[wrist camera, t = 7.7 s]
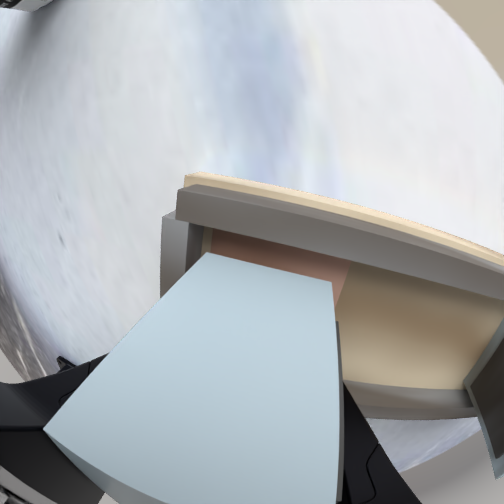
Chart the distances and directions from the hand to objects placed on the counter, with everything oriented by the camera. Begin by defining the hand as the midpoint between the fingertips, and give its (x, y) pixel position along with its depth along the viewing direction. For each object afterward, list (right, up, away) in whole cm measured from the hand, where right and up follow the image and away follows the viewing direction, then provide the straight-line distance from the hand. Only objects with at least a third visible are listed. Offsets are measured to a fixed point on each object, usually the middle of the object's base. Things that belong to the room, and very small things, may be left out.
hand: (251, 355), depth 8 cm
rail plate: (+8, 0, +3) cm, 8 cm away
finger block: (0, 0, +1) cm, 1 cm away
